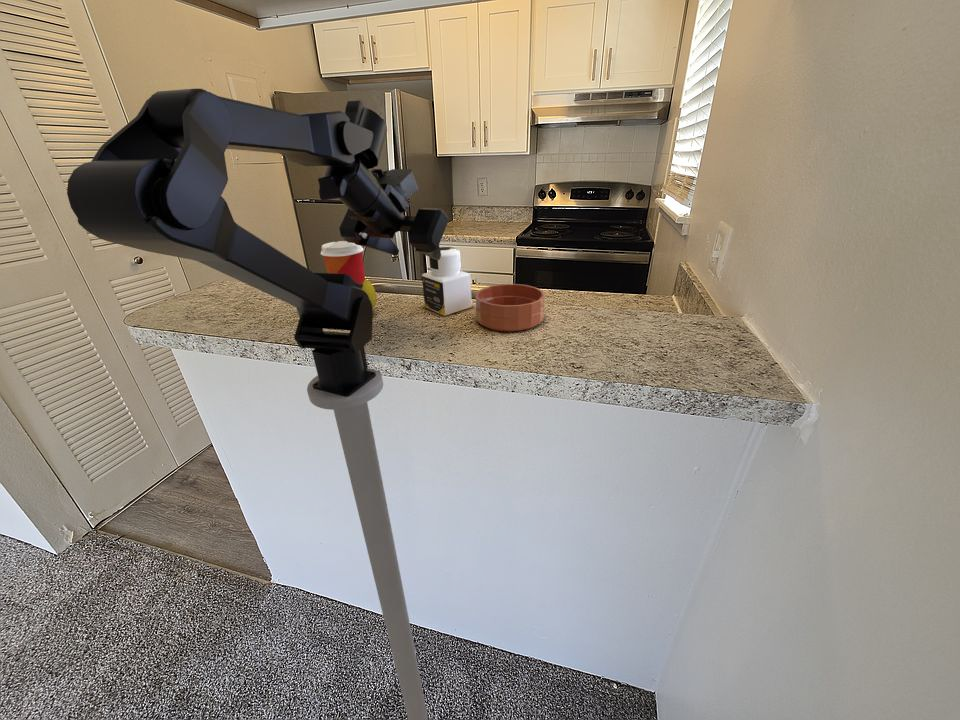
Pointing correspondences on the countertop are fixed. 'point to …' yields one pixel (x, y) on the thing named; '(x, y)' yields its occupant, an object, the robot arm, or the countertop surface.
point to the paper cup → (344, 259)
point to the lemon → (370, 291)
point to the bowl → (510, 307)
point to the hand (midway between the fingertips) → (417, 255)
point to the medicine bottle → (447, 284)
